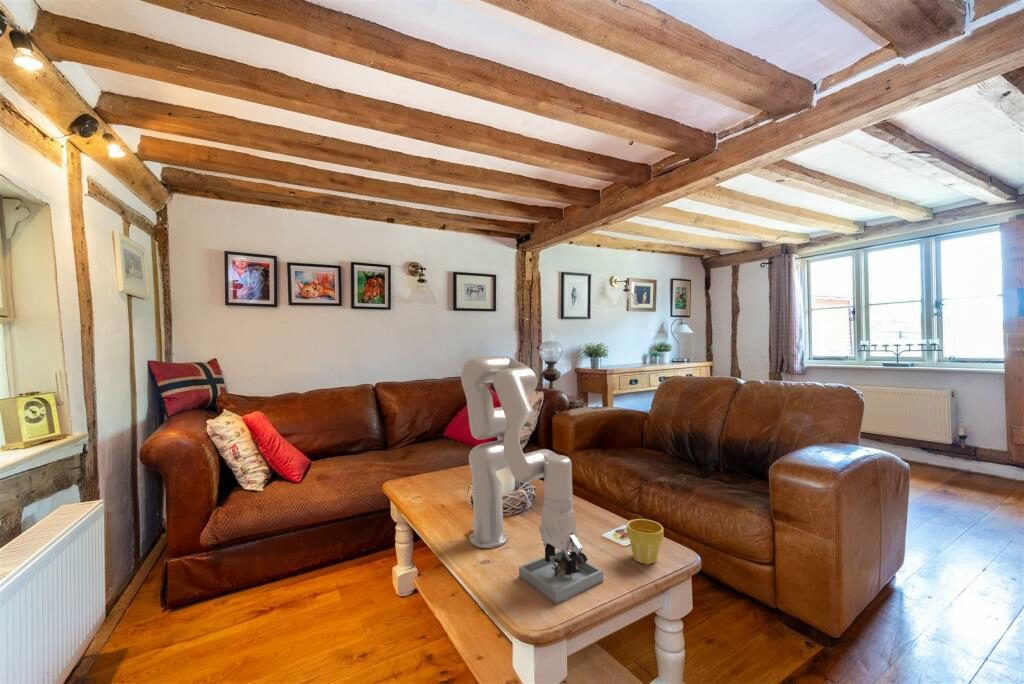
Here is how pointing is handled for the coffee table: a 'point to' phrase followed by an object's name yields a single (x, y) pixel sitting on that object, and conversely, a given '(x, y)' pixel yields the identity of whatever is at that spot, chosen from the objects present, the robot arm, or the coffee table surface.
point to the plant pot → (645, 539)
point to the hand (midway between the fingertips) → (560, 566)
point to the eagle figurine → (561, 562)
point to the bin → (559, 579)
